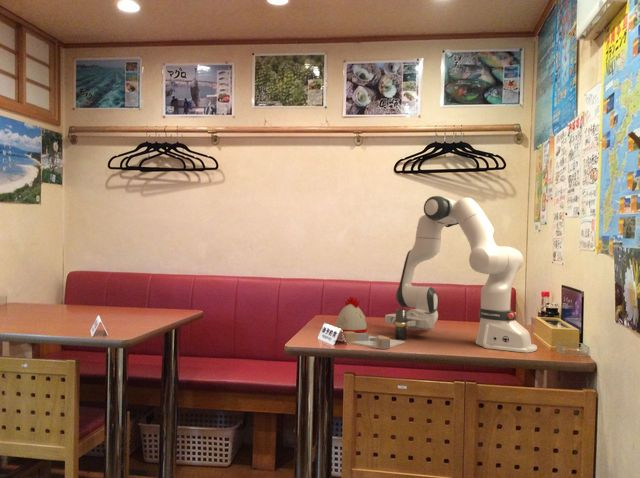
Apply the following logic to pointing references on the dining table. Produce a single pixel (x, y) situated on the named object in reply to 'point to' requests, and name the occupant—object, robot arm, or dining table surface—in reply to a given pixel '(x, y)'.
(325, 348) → the dining table surface
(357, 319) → the kitchen timer
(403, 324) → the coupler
